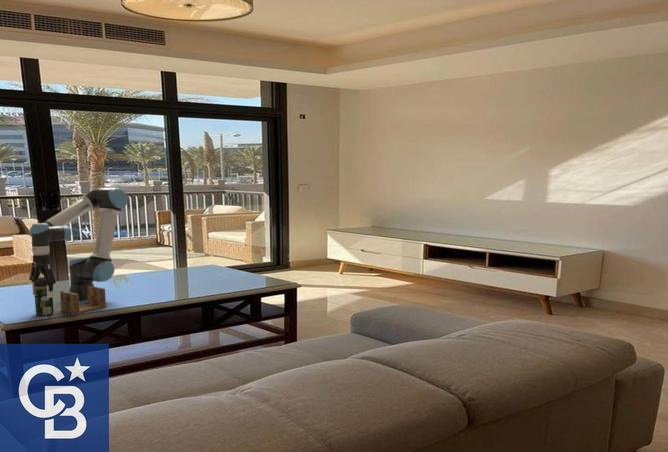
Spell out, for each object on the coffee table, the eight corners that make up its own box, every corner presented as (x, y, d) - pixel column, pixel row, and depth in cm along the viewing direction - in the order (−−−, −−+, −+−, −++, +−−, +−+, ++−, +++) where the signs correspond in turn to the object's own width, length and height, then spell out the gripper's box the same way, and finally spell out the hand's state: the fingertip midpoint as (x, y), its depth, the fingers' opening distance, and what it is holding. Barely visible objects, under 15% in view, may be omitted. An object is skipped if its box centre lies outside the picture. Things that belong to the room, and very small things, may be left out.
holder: (59, 311, 263) (58, 291, 262) (91, 303, 278) (90, 285, 277) (75, 314, 255) (74, 294, 254) (107, 307, 270) (106, 288, 269)
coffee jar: (35, 313, 259) (32, 277, 257) (52, 310, 264) (50, 275, 262) (36, 317, 251) (34, 280, 249) (54, 314, 256) (52, 278, 254)
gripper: (20, 253, 258) (22, 294, 260) (47, 257, 245) (48, 300, 246) (35, 251, 264) (37, 291, 266) (62, 255, 251) (64, 297, 253)
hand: (43, 296), depth 256 cm, fingers open, 13 cm apart
